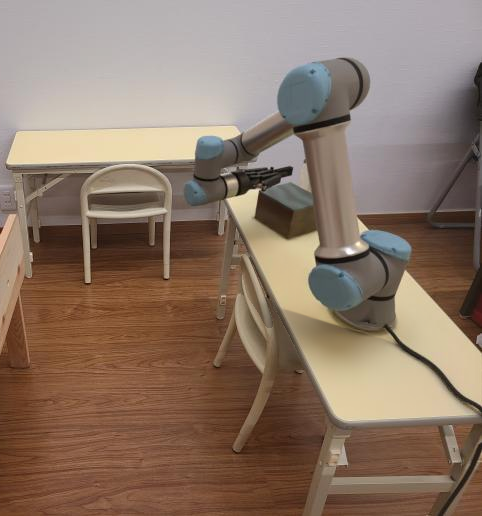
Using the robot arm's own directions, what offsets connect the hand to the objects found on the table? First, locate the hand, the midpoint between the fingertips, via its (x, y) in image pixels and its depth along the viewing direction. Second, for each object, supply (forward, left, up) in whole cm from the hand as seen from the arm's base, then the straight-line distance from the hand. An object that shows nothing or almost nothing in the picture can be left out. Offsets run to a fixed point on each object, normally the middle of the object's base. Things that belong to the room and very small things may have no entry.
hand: (290, 170), depth 157 cm
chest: (0, -3, -20) cm, 20 cm away
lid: (0, -3, -10) cm, 11 cm away
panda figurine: (+9, -20, -20) cm, 30 cm away
